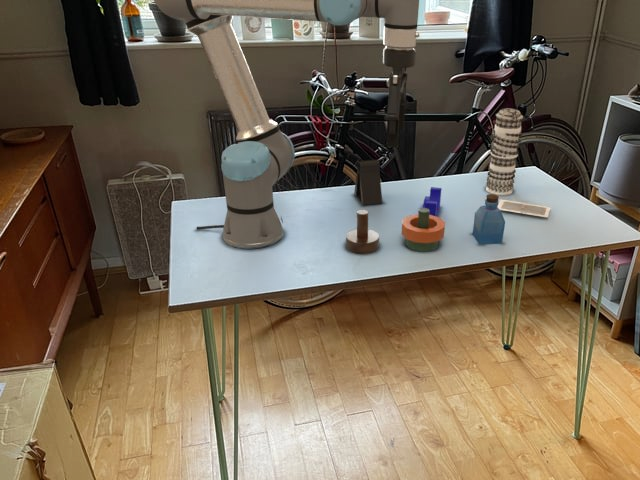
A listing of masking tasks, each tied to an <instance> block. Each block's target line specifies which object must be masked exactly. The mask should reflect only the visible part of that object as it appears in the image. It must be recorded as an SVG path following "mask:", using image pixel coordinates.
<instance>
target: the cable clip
mask: <svg viewBox="0 0 640 480" xmlns="http://www.w3.org/2000/svg"><path fill="white" fill-rule="evenodd" d="M441 198H442V187H436V186H435V187H434V186H430V191H429V196H427V195H425V196H424V199H423V204H422V208H427V209H429V210H430V213H429V215H433V216H436V217H438V215H439V211H440V208H441V200H442V199H441Z"/></svg>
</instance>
